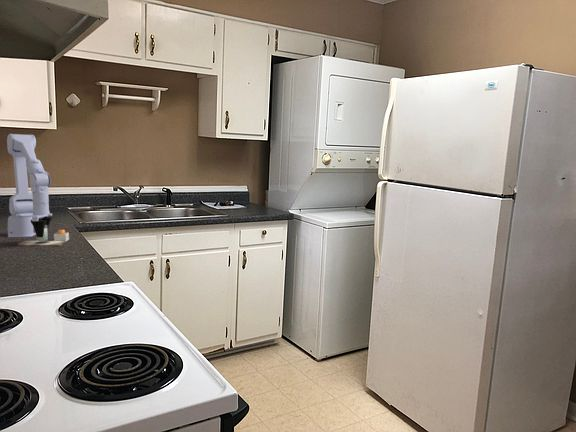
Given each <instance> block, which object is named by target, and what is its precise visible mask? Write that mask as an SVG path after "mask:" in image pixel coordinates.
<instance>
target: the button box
mask: <svg viewBox="0 0 576 432" xmlns="http://www.w3.org/2000/svg"><path fill="white" fill-rule="evenodd" d="M53 241H66V242H68V241H70V233H69V232H65V234H58V232H55V233H54V234H53Z"/></svg>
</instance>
